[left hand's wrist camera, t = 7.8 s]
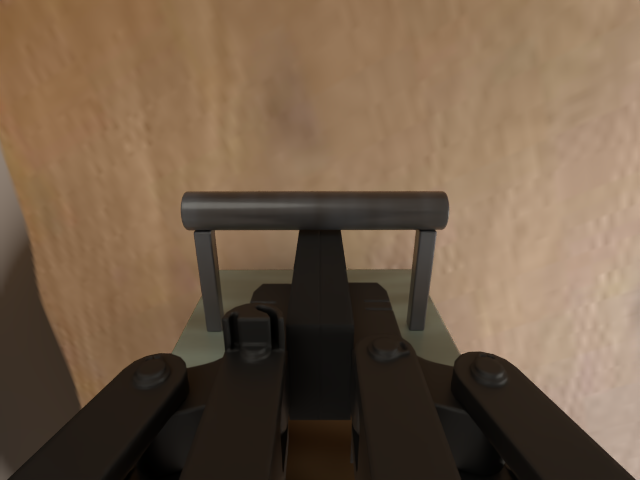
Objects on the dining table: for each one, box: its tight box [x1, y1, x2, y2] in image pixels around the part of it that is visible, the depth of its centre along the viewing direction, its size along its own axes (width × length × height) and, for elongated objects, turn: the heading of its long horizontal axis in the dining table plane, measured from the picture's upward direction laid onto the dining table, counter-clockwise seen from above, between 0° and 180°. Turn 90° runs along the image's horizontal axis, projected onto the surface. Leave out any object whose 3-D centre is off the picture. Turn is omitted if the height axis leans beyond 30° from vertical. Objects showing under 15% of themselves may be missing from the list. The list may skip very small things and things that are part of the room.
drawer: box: [171, 191, 461, 480], centre depth 19 cm, size 23×10×8 cm, turn 0°
